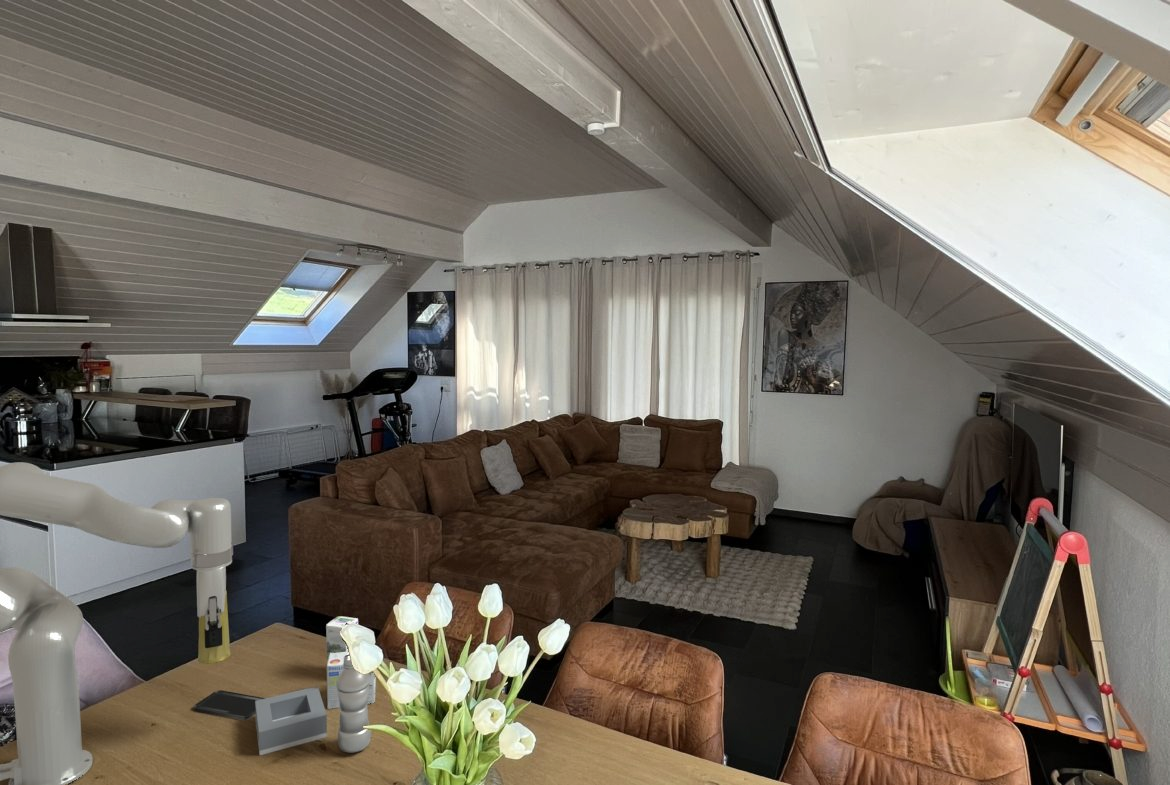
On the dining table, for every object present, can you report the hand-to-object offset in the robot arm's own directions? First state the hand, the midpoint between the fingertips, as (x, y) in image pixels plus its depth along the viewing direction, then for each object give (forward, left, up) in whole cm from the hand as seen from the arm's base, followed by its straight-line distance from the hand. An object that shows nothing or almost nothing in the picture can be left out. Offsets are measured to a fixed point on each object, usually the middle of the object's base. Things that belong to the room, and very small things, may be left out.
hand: (213, 639), depth 138 cm
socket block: (+14, -6, -21) cm, 26 cm away
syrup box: (+28, +12, -21) cm, 37 cm away
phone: (+3, +10, -22) cm, 24 cm away
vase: (0, 0, -4) cm, 4 cm away
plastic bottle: (+25, -19, -21) cm, 38 cm away
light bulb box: (+28, 0, -22) cm, 35 cm away
